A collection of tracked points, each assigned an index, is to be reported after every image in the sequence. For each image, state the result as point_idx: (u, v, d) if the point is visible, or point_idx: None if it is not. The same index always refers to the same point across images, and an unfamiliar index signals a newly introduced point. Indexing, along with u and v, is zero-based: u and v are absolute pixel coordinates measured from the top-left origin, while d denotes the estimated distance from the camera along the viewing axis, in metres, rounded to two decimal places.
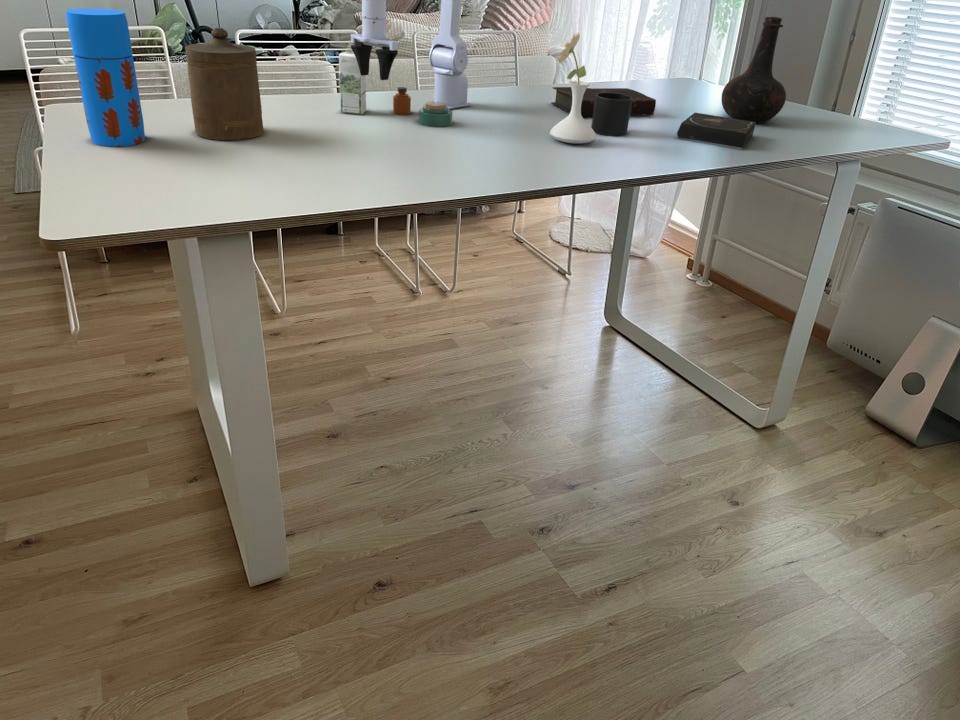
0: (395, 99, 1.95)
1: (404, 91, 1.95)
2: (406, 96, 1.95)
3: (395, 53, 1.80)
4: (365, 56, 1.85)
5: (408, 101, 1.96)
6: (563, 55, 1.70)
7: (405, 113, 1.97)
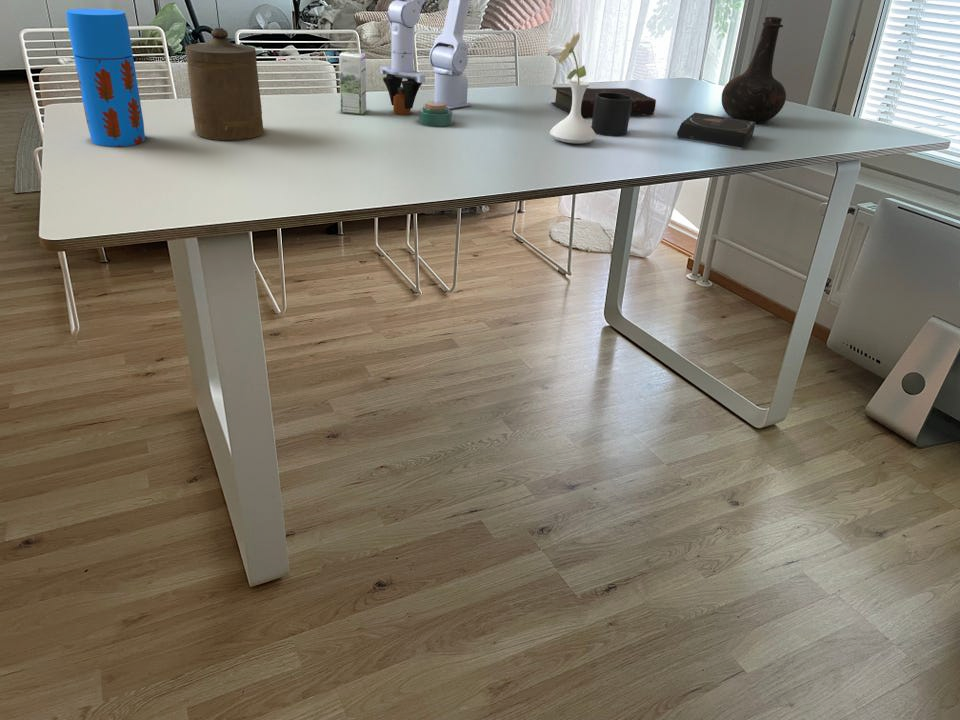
0: (395, 99, 1.95)
1: None
2: None
3: (419, 84, 1.93)
4: (396, 87, 1.97)
5: None
6: (563, 55, 1.70)
7: (405, 113, 1.97)
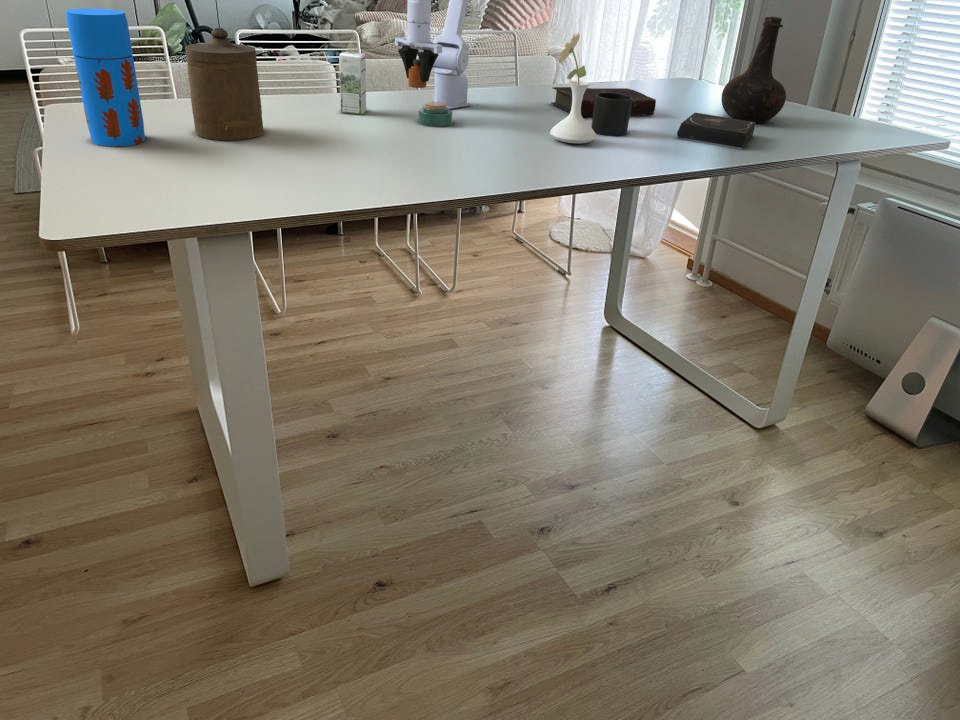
0: (411, 71, 1.88)
1: None
2: None
3: (436, 55, 1.86)
4: (411, 59, 1.89)
5: None
6: (563, 55, 1.70)
7: (421, 86, 1.89)
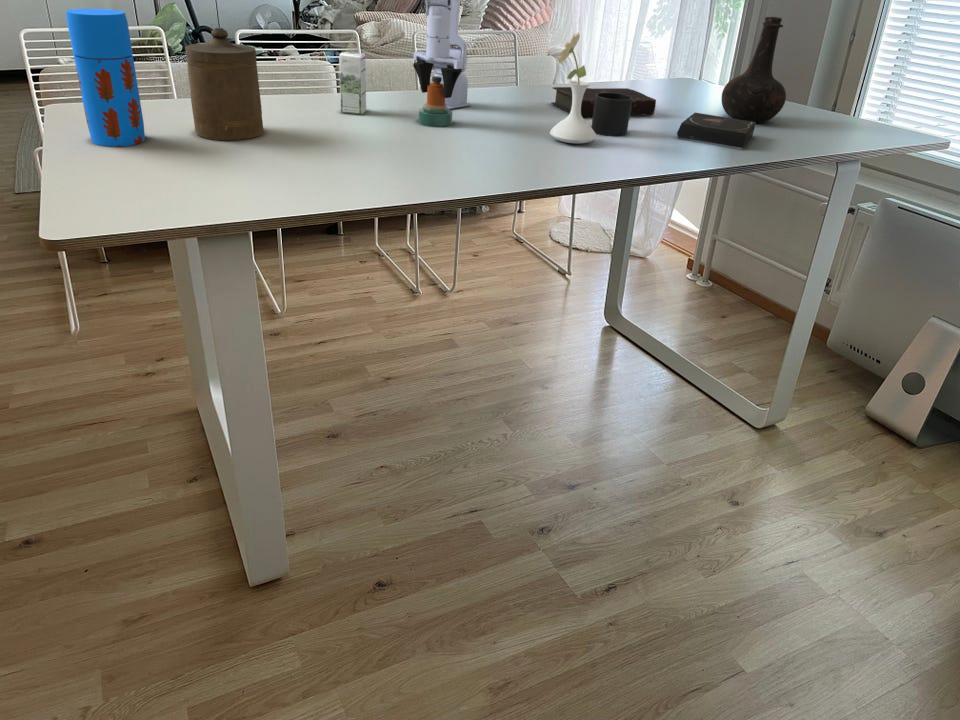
0: (429, 89, 1.85)
1: (439, 80, 1.85)
2: (441, 86, 1.85)
3: (459, 71, 1.82)
4: (426, 73, 1.87)
5: (443, 91, 1.86)
6: (563, 55, 1.70)
7: (440, 104, 1.87)
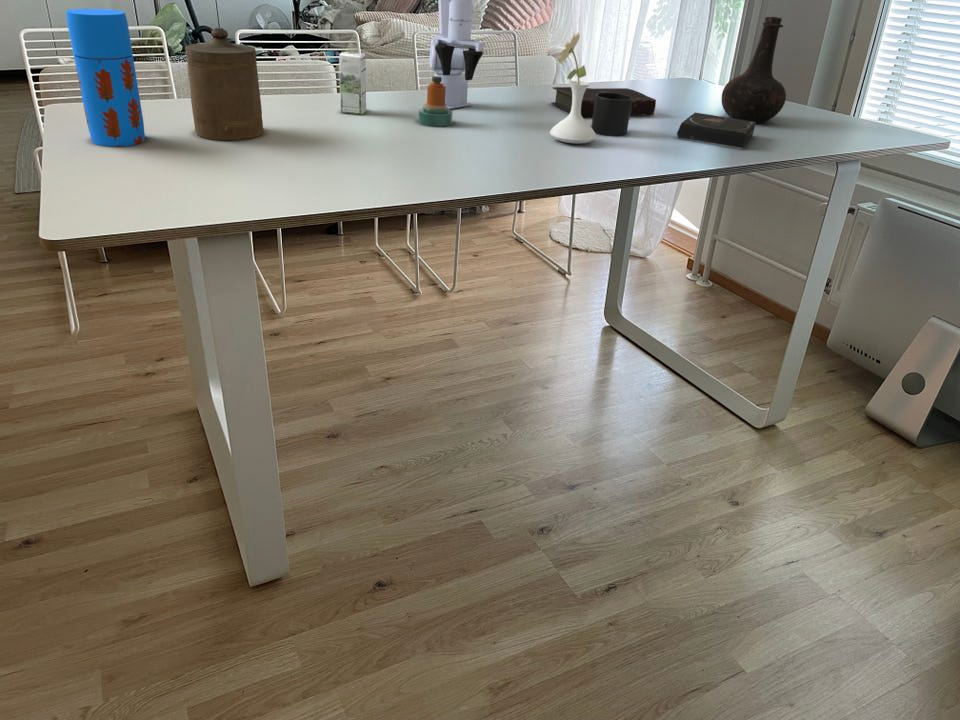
0: (429, 89, 1.85)
1: (439, 80, 1.85)
2: (441, 86, 1.85)
3: (480, 54, 1.86)
4: (448, 57, 1.91)
5: (443, 91, 1.86)
6: (563, 55, 1.70)
7: (440, 104, 1.87)
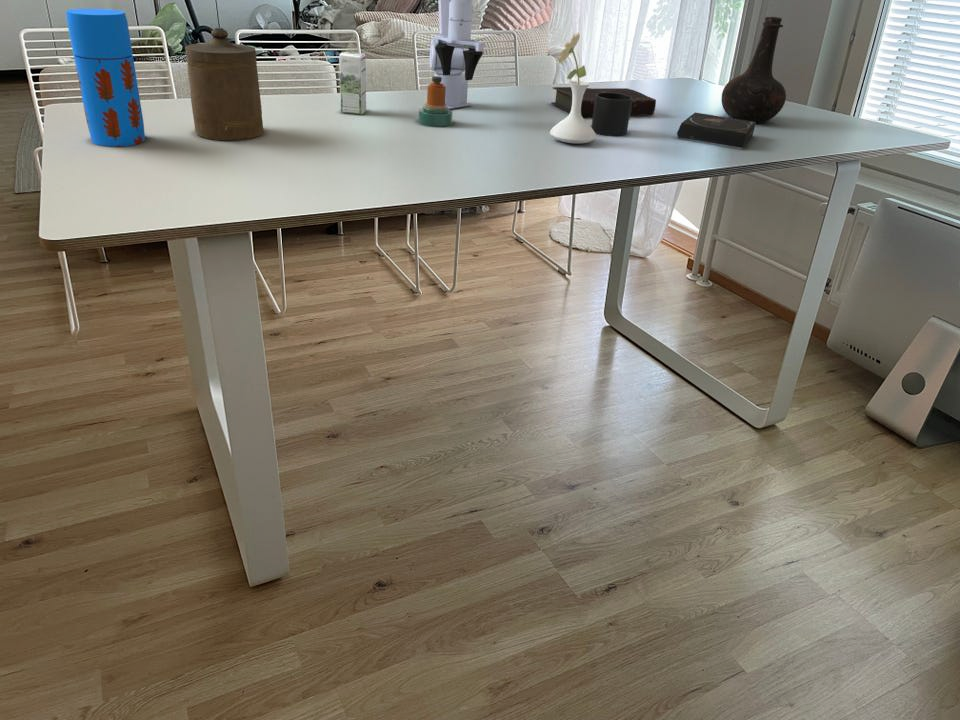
0: (429, 89, 1.85)
1: (439, 80, 1.85)
2: (441, 86, 1.85)
3: (480, 54, 1.86)
4: (448, 57, 1.91)
5: (443, 91, 1.86)
6: (563, 55, 1.70)
7: (440, 104, 1.87)
